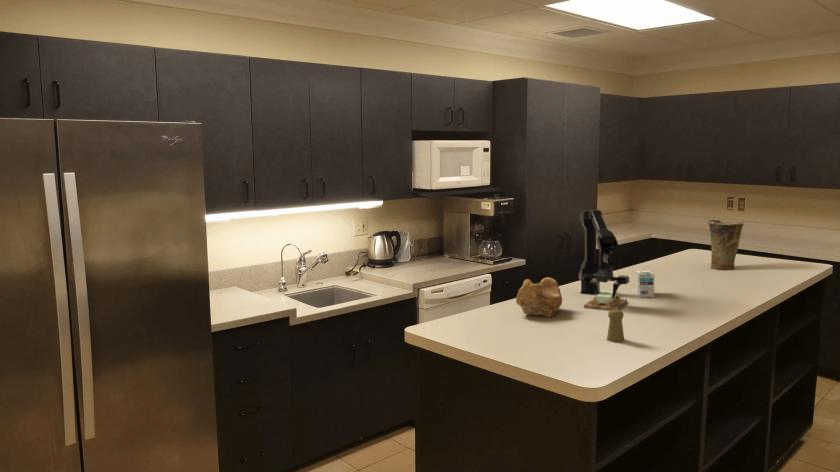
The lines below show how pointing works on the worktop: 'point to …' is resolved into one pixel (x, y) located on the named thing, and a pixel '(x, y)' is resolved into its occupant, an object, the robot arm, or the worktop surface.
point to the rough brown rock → (540, 297)
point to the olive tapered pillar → (615, 326)
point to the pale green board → (605, 296)
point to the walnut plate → (606, 304)
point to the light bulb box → (645, 283)
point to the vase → (724, 243)
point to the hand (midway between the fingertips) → (605, 297)
